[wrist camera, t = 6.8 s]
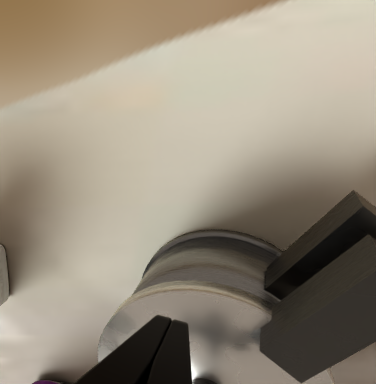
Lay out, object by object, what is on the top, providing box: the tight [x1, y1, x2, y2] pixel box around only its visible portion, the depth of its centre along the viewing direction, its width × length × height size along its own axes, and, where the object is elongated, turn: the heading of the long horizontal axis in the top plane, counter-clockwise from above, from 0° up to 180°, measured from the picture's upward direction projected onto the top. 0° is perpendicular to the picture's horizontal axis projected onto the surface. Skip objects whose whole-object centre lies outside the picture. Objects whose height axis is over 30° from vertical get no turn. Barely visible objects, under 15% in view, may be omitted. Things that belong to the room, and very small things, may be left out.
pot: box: [132, 190, 376, 305], centre depth 18 cm, size 12×18×5 cm
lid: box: [98, 234, 376, 384], centre depth 15 cm, size 13×18×2 cm
